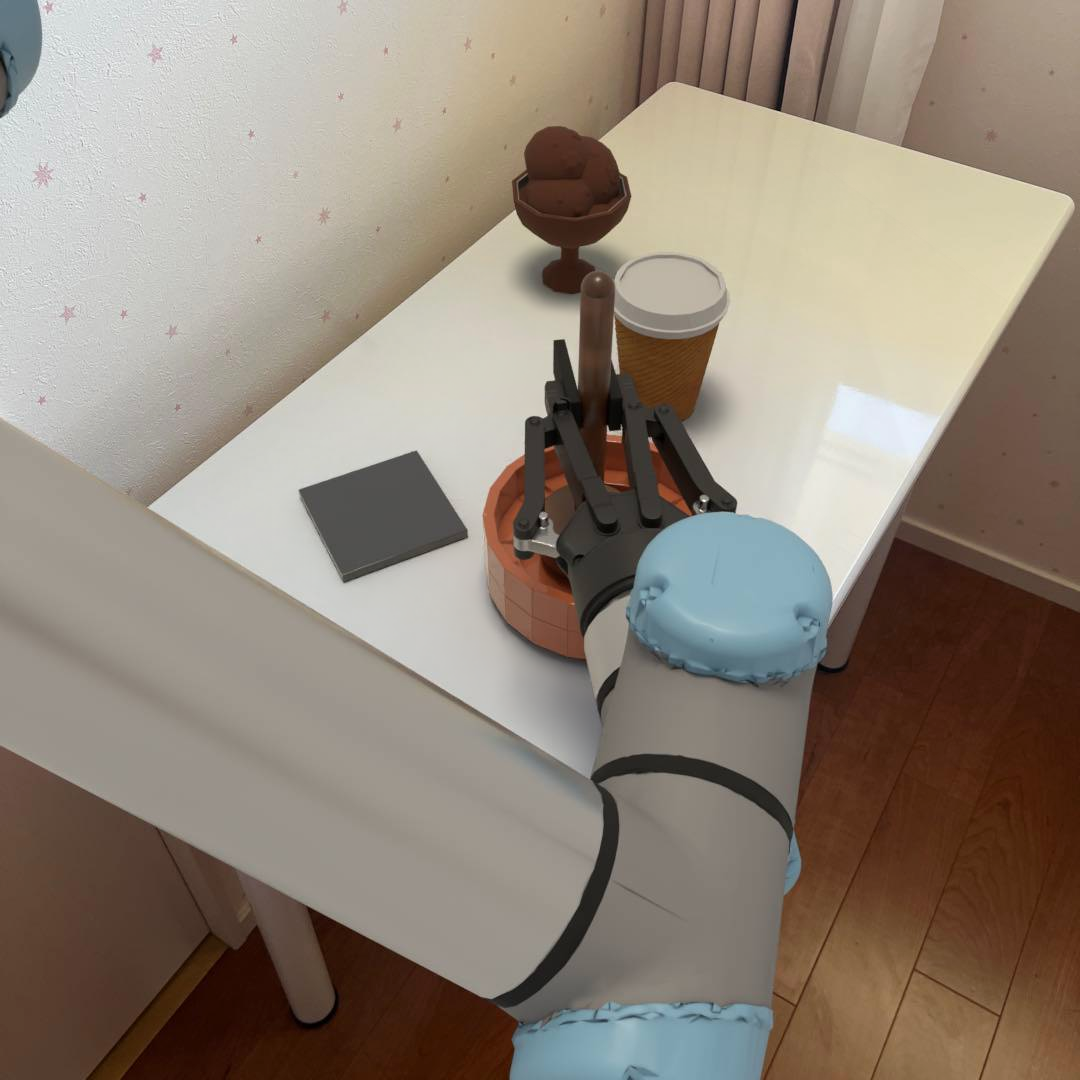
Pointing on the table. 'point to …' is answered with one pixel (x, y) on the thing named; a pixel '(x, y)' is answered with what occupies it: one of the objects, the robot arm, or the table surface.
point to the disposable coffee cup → (668, 325)
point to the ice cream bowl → (569, 199)
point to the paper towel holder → (589, 390)
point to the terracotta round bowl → (531, 585)
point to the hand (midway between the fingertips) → (578, 354)
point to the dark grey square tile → (381, 515)
